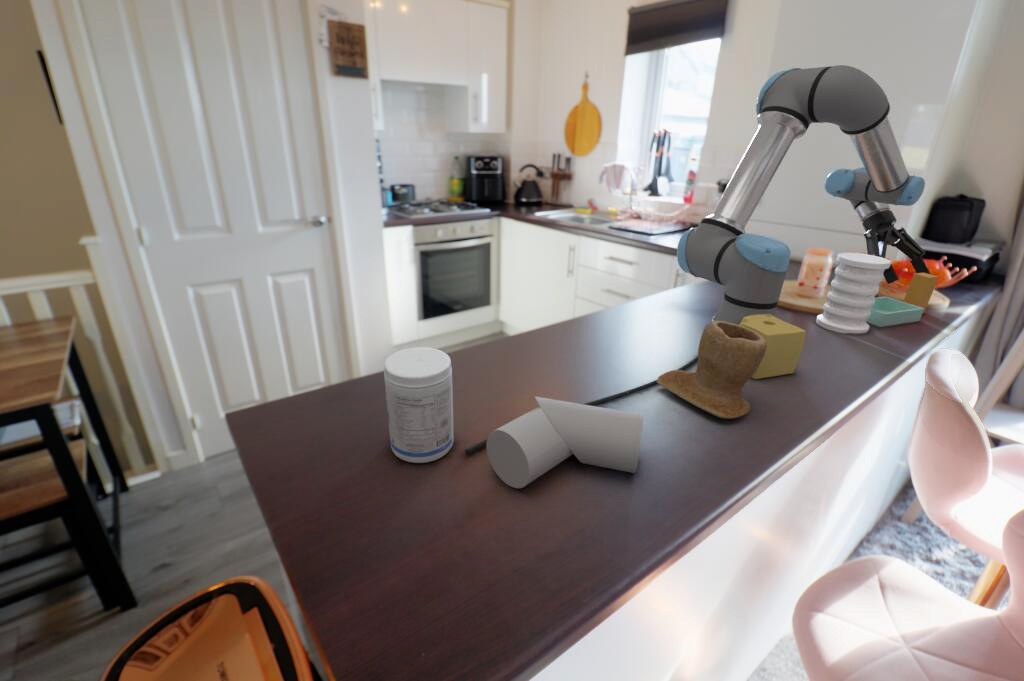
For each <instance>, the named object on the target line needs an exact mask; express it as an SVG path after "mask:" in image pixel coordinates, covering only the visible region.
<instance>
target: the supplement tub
mask: <svg viewBox="0 0 1024 681" xmlns="http://www.w3.org/2000/svg"><path fill="white" fill-rule="evenodd" d="M383 367H384V368H383V369H384V370H383V378H384V389H385V390H384V391H385V398H386V399H385V400H386V410H387V420H388V431H389V442H390V448H391V451H392V453H393V455H395V457H397V458H399V459H400V460H402V461H404V462H408V463H412V464H425V463H431V462H434V461H437V460H439V459H441V458H442V457H444V456H446V454H448V453H449V451H450V450H451V449H452V447H453V444H454V398H453V395H454V394H453V392H454V391H453V368H452V360H451V357H450V355H448V354H447V353H446V352H445V351H442V350H440V349H438V348H437V349H436V348H433V347H424V346H423V347H421V346H420V347H409V348H405V349H401V350H398V351H396V352H394V353H392V354H390V355H389V356H388V357H387V358H386V359H385V360H384V364H383Z"/></svg>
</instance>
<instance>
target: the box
mask: <svg viewBox="0 0 1024 681" xmlns="http://www.w3.org/2000/svg"><path fill="white" fill-rule="evenodd" d="M874 299H875V303H874V305H873V306H872V307H871V309H870V312H871V313H870V317H869V318H868V319H867V320H866V323H867V324H871V325H873V326H877V327H879V328H882V327H890V326H896V325H900V324H902V325H903V324H908V323H915V322H920V320H921V318H922V315H923V314H924V313H923V311H924V308H921V307H918V306H915V305H911V304H908V303H905V302H903V301H901V300H898V299H897V298H896V299H895V298H892V297H890V296H887V295H886V296H878V297H875V298H874Z"/></svg>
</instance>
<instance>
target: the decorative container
mask: <svg viewBox="0 0 1024 681" xmlns="http://www.w3.org/2000/svg"><path fill="white" fill-rule="evenodd" d="M888 259H889V258H886V257H885V258H882V257H878V256H874V254H873V255H868V253H861V252H860V253H859V252H840V253H838V254H837V256H836V261H837V262H838V264H837V267H836V268H835V269H834V277H833V279H832V280H831V281H830V289H829V291H828V292H827V294H826V299H827V300H826V302H825V303H824V304H823V306H822V307H823V312H822V313H820V314H818V315H817V316H816V319H815V323H816V324H817V325H818V326H819V327H821V328H824V329H825V330H827V331H831V332H835V333H840V334H845V335H850V334H865V333H867V332H869V331H870V324H869V323H868V322H866V320H867V319H868V318H869V317H870V313H871V312H870V309H871V307H872V306H873V305H874V303H875V299H874V298H876V295H878V293H879V292H880V283H882V281H883V280H884V279H885V278H884V275H883V272H884V270H885V269H888V268H889V267H890V264H891V265H892V261H891V260H890V259H889V260H888Z"/></svg>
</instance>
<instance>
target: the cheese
mask: <svg viewBox="0 0 1024 681" xmlns="http://www.w3.org/2000/svg"><path fill="white" fill-rule="evenodd" d="M739 325H740V326H743V327H745V328H748V329H750V330H753V331H755V332H757V333H758V334H760V335H761V336H762V337H763V338H764V339H765V341H766V352H765V355H764V357H763V359H762V361H761V363H760V364H759V366H758V368H757V370H756V371H755V373H754V374H753V375H752V376H751V377H750V378H751V379H754V380H759V379H766V378H772V377H773V378H774V377H777V376H778V377H779V376H784V375H791V374H794V372H795V370H796V368H797V366H798V364H799V361H800V358H801V355H802V353H803V350H804V345H805V342H806V334H807V331H806V330H805V329H803V328H801V327H799V326H797V325H794V324H791V323H789V322H787V321H784V320H782V319H780V318H779V317H777V318H776V317H774V316H772V315H770V314H759V315H751V316H746V317H744V318H743V319H742V321H741V323H740V324H739Z"/></svg>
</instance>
